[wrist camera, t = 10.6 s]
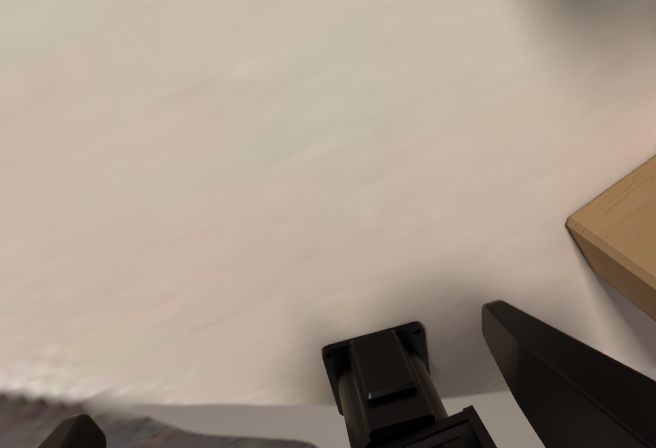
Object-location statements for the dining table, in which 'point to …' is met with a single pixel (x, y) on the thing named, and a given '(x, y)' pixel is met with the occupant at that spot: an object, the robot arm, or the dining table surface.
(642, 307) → the decorative block
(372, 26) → the dining table surface
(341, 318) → the dining table surface
